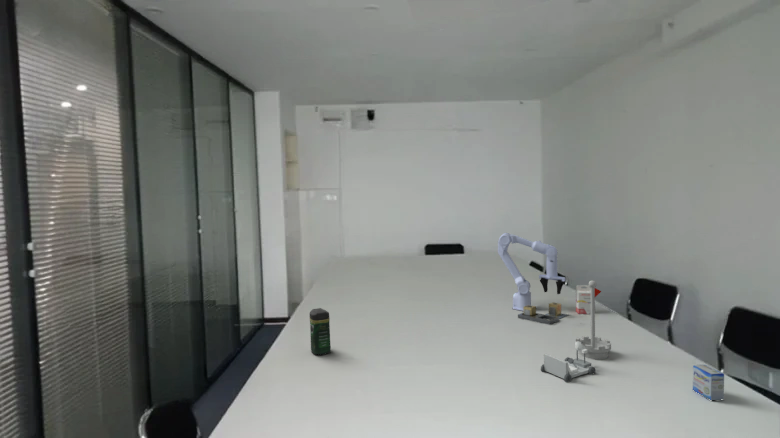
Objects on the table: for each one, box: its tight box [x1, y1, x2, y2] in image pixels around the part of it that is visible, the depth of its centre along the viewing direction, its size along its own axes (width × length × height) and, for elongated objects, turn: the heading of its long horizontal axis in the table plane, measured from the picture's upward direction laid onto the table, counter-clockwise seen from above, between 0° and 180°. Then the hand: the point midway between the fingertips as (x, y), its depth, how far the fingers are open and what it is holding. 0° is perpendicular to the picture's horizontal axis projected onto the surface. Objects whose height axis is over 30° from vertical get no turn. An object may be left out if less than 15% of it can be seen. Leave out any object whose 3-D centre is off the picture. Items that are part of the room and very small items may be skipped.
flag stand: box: [575, 280, 612, 360], centre depth 185 cm, size 13×13×30 cm
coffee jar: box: [309, 307, 332, 355], centre depth 199 cm, size 10×8×19 cm
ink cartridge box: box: [575, 284, 591, 315], centre depth 245 cm, size 9×5×15 cm, turn 84°
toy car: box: [540, 341, 596, 383], centre depth 169 cm, size 18×10×12 cm
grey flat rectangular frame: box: [517, 312, 560, 325], centre depth 237 cm, size 18×9×2 cm, turn 42°
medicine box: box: [692, 364, 725, 401], centre depth 146 cm, size 8×4×9 cm, turn 5°
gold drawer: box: [523, 304, 537, 317], centre depth 240 cm, size 4×5×6 cm
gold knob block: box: [548, 302, 562, 317], centre depth 242 cm, size 4×5×6 cm
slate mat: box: [544, 312, 568, 320], centre depth 242 cm, size 9×9×1 cm
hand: (552, 292), depth 252 cm, fingers open, 7 cm apart
